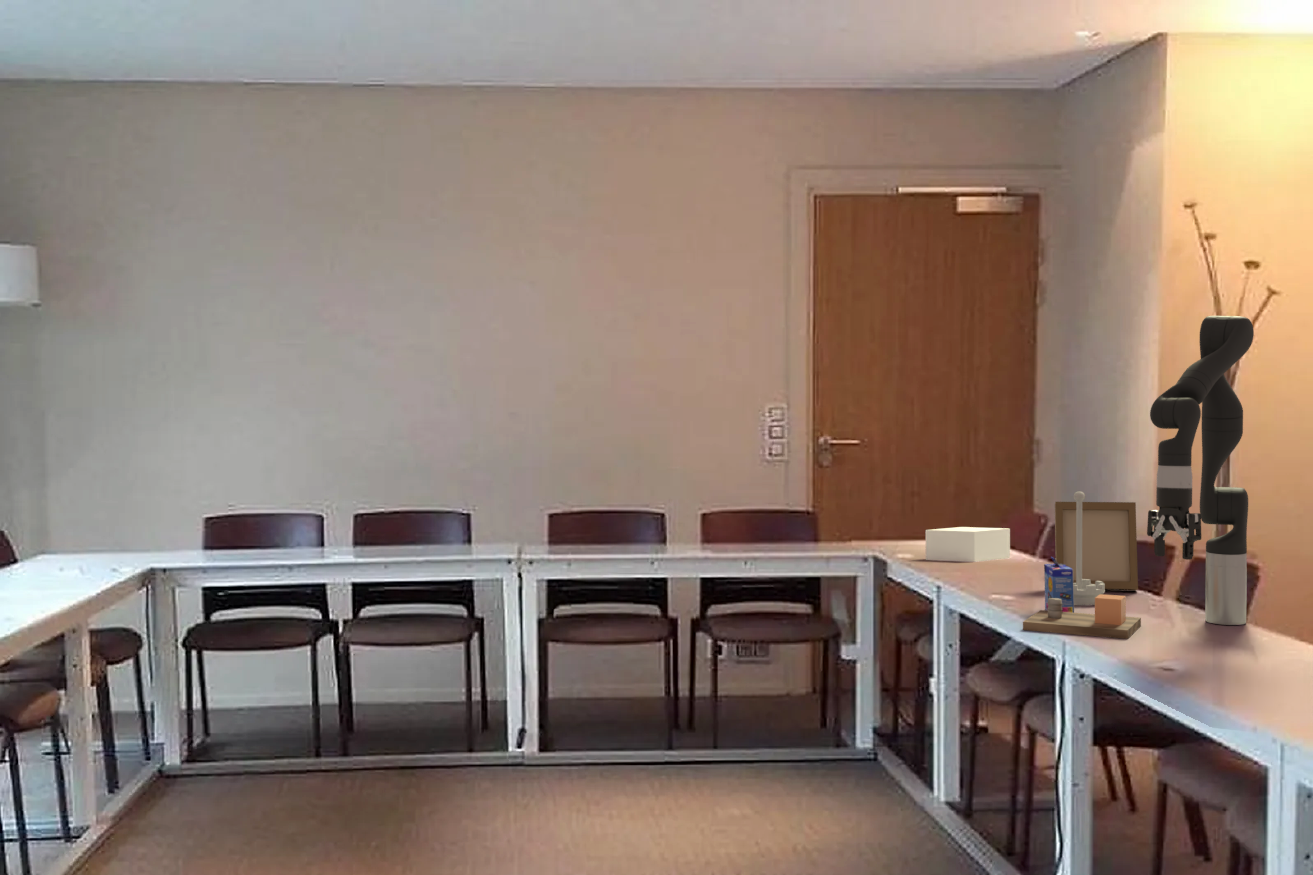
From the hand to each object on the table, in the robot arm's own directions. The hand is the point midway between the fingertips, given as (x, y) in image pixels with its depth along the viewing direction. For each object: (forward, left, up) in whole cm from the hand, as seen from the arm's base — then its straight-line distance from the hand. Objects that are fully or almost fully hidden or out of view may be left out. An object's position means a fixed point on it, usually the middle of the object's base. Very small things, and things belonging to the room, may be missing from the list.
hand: (1173, 557), depth 293 cm
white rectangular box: (-119, -81, -20) cm, 146 cm away
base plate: (-10, -22, -20) cm, 31 cm away
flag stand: (-48, -30, -20) cm, 60 cm away
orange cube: (-10, -15, -18) cm, 25 cm away
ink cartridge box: (-28, -31, -20) cm, 46 cm away
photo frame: (-74, -31, -20) cm, 83 cm away
